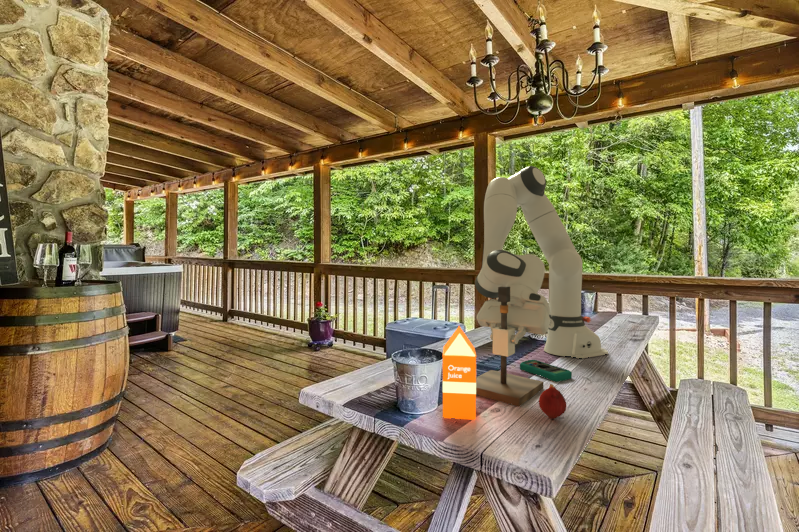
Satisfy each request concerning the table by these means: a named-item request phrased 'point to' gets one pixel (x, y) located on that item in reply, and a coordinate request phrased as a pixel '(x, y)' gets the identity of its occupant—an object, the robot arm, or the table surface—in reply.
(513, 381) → the rod stand
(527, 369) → the digital multimeter
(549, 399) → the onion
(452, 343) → the orange juice
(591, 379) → the table surface
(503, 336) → the small beige block
